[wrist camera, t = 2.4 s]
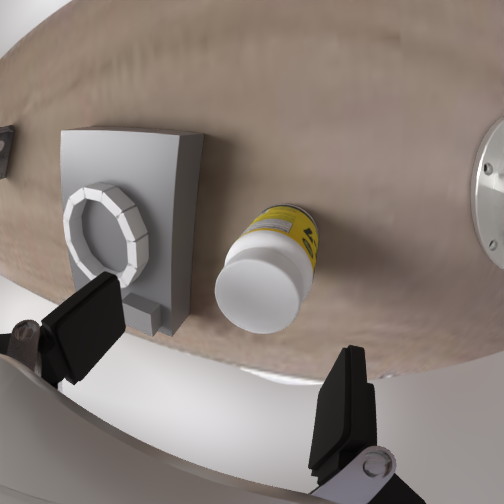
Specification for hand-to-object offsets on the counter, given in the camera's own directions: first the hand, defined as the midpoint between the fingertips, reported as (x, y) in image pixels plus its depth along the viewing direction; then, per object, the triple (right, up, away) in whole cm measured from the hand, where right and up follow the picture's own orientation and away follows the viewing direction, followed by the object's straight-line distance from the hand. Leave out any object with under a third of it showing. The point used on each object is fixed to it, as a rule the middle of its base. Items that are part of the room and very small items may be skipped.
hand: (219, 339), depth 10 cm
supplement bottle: (+4, +5, +9) cm, 11 cm away
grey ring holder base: (-9, +6, +12) cm, 17 cm away
